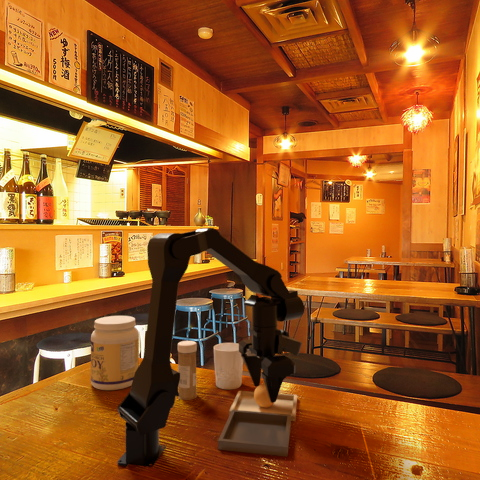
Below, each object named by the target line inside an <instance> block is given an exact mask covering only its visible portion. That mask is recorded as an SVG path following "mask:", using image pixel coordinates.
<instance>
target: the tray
mask: <svg viewBox="0 0 480 480" xmlns="http://www.w3.org/2000/svg"><path fill="white" fill-rule="evenodd" d="M254 392H255V391H250V390H249V391H248V390H247V391H246V390H238V391H237V393H236V396H235V398H234V399H233V403H231V406H230V408H229V411H228V415H229V416H230V413H231V411H232V410H241V411H253V412H265V413H277V414H290V415H291V422H296V417H297V404H298V403H297V402H298V394H290V393H289V394H288V393H278V397H277V400H276V402H274V404H273V405H272V406H270V407H267V408H264V407H261V406H259V405H258V404H257V403H256V401H255V399H254Z"/></svg>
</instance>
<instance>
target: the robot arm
mask: <svg viewBox="0 0 480 480" xmlns="http://www.w3.org/2000/svg"><path fill="white" fill-rule="evenodd" d="M146 247H147V248H146V249H147V250H146V251H147V265H148V269H149V273H150V276H151V281H152V283H151V291H150V299H149V307H148V308H149V309H148V315H147V324H146V325H147V326H146V333H145V342H144V350H143V351H144V352H143V357H142V360H141V361H140V363H139V367H138V368H137V370H136V372H135V375H134V378H133V382H132V385H131V386H130V389H129V392H128V393H127V394H126V395H125V397H124V398H123V399H122V400H121V402H120V403H119V405H118V406H117V407H116V409H117V412H118V415H119V417H120V418H121V419H122V420H124V421H125V452H124V453H123V455H122V456H121V457H119V459H118V460H117V463H116V464H117V466H123V467H128V465H130V466H131V465H132V466H138V467H139V466H140V467H150V468H151V467H153V466H154V465H155V464H156V462H157V461H158V460H159V458H160V457H161V455H162V454H163V452H164V451H165V450H166V448H167V445H164V444H160V430H161V429H164V428H165V427H166V426H167V422H168V420H169V419H168V418H169V415H170V412H171V409H173V407H174V405H175V402H176V399H177V398H178V396H179V381H180V373H179V372H178V370H175V369H173V368H172V364H171V354H172V346H173V338H174V337H173V336H174V330H175V328H174V326H175V319H176V318H175V317H176V311H177V303H178V302H177V301H178V292H179V285H180V282H181V280H182V279H183V276H184V275H185V273H186V271H187V269H188V268H189V263H190V259H191V257H193V256H197V255H199V254H202V253H204V252H206V253H208V254H209V255H211V256H212V257H213V258H215V259H216V260H217V261H218V262H220V263H222V264H223V265H224V266H225V267H226V268H228V269H230V270H231V271H233V272H234V273H235V274H237V276H239V278H240V280H241V282H242V284H243V285H244V286H245V287H246V288H247V289H248V290H249V291H250V292H251V293H253V294H250V296H249V297H248V298H247V299H246V300H245V301H244V303H243V305H244V306H246V307H251V327H249V328H248V333H249V334H251V338H250V339H249V338H248V339H242V340H241V341H240V342H239V343H238V344H239V352H240V353H241V357H242V358H243V364H245V367H246V369H247V371H248V374H249V376H250V378H251V381H252V383H253V386H254V387H255V388H257V387H258V386H259V385H261V377H262V379H263V384H265V386H266V390H267V393H268V396H269V399H270V402H271V403H273V402H276V400H277V397H278V394H280V390H281V387H282V385H283V382H284V380H285V379H286V378H287V377H291V376H292V375H294V374H295V373H296V363H295V362H294V361H293V360H292V359H291V358H289V357H288V356H286V355H285V354H284V352H285V353H288V354H292V355H294V356H296V357H299V354H300V351H301V347H302V344H303V342H301V341H300V340H299V339H296V338H294V337H291V336H290V332H289V331H287V330H284V329H279V328H278V322H281V323H282V322H286V321H292V320H297V319H300V318H301V317H303V315H304V314H305V304H304V302H303V299H301V297H300V296H299V291H298V290H295V289H293V290H292V289H289V290H288V287H287V286H286V285H285V283H284V280H283V279H282V278H283V276H282V273H281V272H280V271H278V270H277V269H275V268H273V267H271V266H269V265H266V264H262V263H260V262H257V261H255V259H252V258H251V257H250V256H249V255H248V254H246V253H245V252H244V251H242V250H241V249H240V248H239V247H237V245H235V244H233V243H232V242H231V241H230V240H228V239H227V238H226V237H224V236H223V235H222V234H221V232H220V231H219V230H217V229H216V228H214V227H200V228H198V229H195V230H192V231H191V230H190V231H186V232H183V233H180V232H177V233H176V232H174V233H173V232H168V233H167V232H166V233H165V232H164V233H163V232H162V233H161V232H160V233H157V234H155V235H153V236H152V237H151V238H150V239H149V240H148V243H147V246H146ZM256 294H259V295H261V297H259V296H258V295H256ZM176 397H177V398H176Z"/></svg>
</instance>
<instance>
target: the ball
mask: <svg viewBox="0 0 480 480" xmlns="http://www.w3.org/2000/svg"><path fill="white" fill-rule="evenodd" d="M253 392H254V399H255V401H256V403H257V404H258V405H259V406H261V407H264V408H267V407H270V406H272V405H273V404H274V402H273V403H271V402H270V399H269V396H268V393H267V390H266V386H265V383H260V385H259V386H258V387H255V389H254V391H253Z"/></svg>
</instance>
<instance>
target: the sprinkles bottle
mask: <svg viewBox="0 0 480 480" xmlns="http://www.w3.org/2000/svg"><path fill="white" fill-rule="evenodd" d="M197 348H198V344H197V342H196V341H194V340H182V341H179V342H178V343H177V353H178V355H177V356H178V360H177V361H178V364H177V372H179V373H180V381H179V385H178V393H179V396H178V397H177V398H178V400H182V401H188V400H193V399H196V398H197V397H198V395H197V385H198V384H197V383H198V382H197V351H198V350H197Z"/></svg>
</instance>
